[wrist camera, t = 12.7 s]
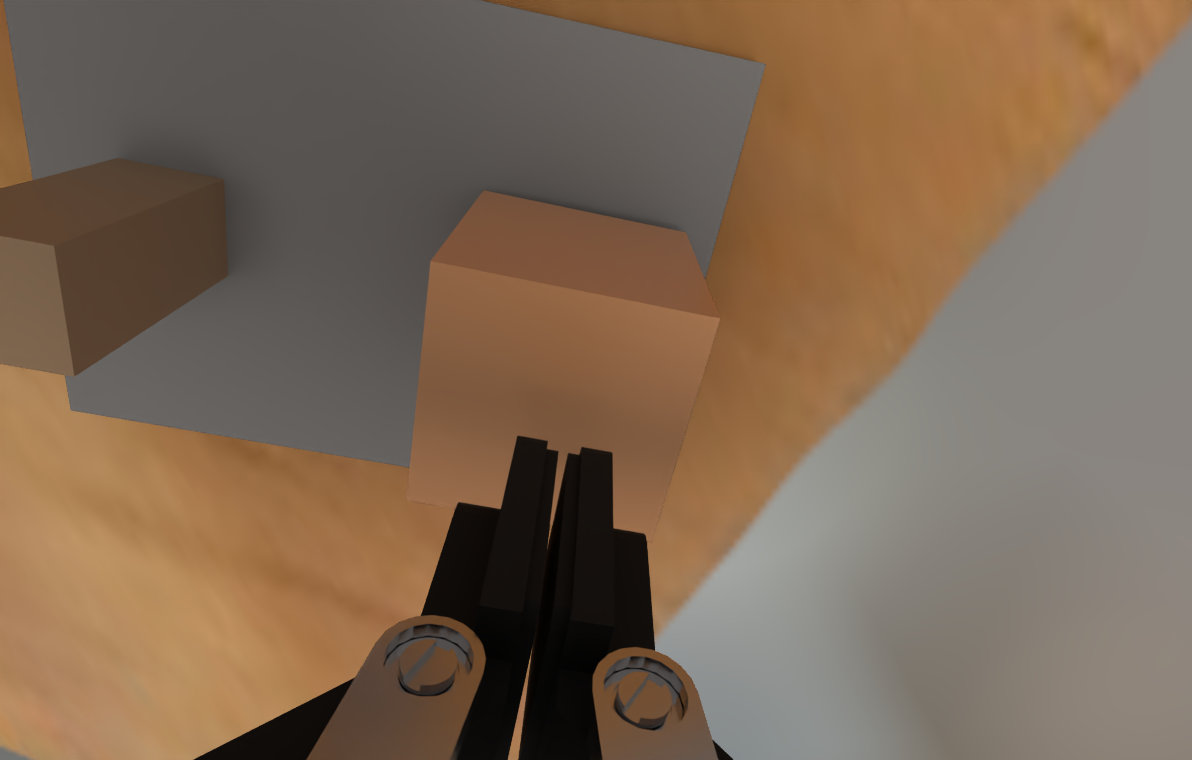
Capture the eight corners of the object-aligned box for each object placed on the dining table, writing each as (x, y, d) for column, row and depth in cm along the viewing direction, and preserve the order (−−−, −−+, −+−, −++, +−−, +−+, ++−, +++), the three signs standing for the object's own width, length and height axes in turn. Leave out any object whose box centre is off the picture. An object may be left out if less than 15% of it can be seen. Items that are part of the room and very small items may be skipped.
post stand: (30, -100, 18) (-370, -191, 11) (754, 61, 20) (847, 81, 12) (99, 389, 25) (-120, 545, 18) (638, 482, 27) (653, 663, 19)
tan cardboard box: (483, 190, 19) (430, 260, 13) (685, 232, 20) (720, 318, 14) (459, 373, 22) (405, 500, 16) (639, 406, 22) (651, 542, 16)
